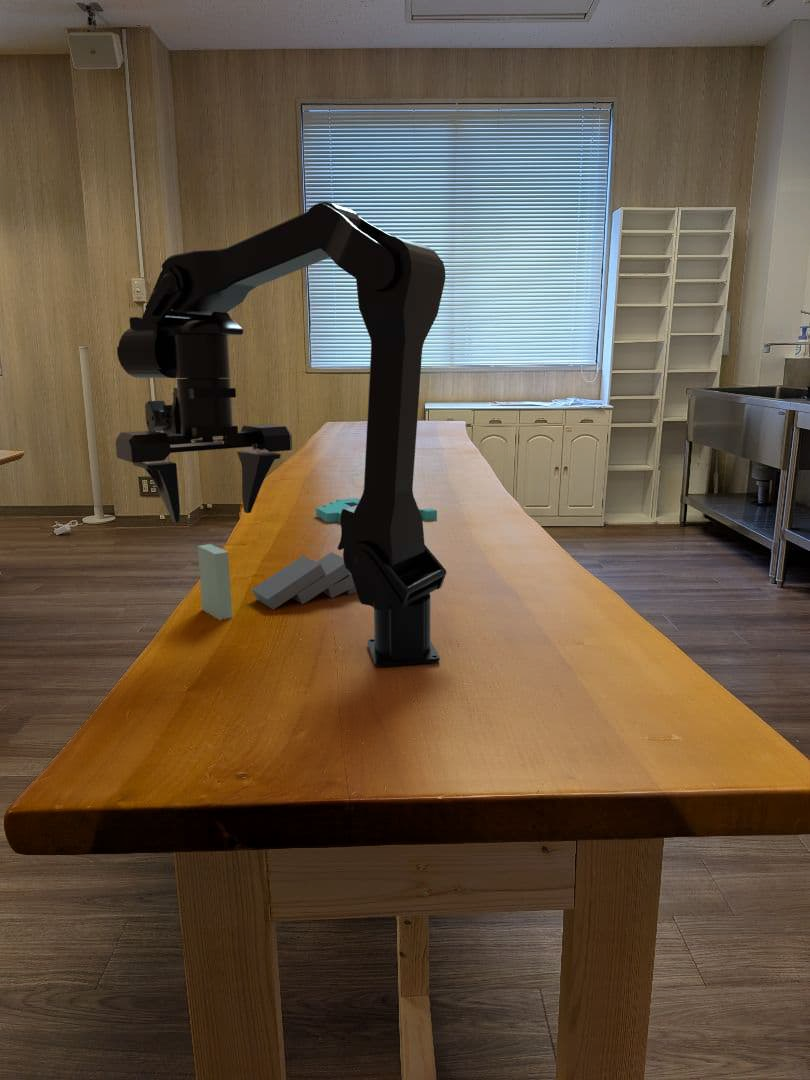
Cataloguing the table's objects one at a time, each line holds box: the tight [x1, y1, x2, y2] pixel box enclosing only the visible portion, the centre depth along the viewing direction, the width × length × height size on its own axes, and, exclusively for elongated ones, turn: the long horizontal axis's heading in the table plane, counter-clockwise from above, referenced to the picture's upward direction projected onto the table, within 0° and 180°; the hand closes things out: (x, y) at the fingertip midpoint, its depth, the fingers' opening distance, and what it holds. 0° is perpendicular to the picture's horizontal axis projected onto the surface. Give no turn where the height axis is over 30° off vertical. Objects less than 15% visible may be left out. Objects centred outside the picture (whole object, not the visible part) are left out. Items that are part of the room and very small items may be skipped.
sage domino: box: [197, 543, 233, 621], centre depth 86 cm, size 2×5×8 cm, turn 38°
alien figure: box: [315, 497, 438, 524], centre depth 145 cm, size 20×2×20 cm
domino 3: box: [322, 573, 355, 599], centre depth 96 cm, size 2×5×8 cm
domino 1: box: [251, 555, 326, 611], centre depth 92 cm, size 2×5×8 cm
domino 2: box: [291, 552, 350, 605], centre depth 94 cm, size 2×5×8 cm
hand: (212, 517), depth 84 cm, fingers open, 8 cm apart
